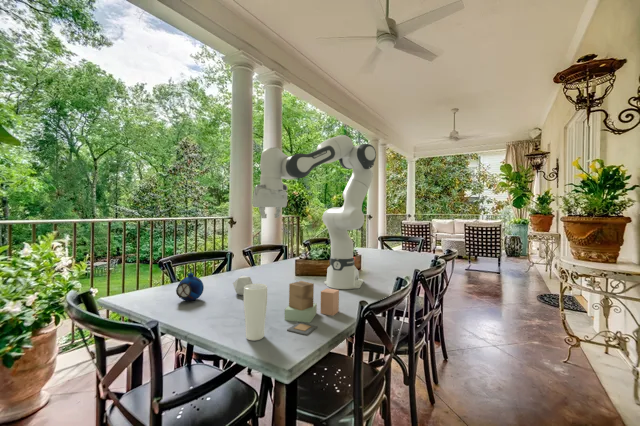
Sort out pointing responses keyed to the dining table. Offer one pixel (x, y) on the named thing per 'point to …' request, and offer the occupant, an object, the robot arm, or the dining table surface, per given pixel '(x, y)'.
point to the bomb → (190, 288)
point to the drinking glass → (255, 310)
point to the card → (302, 328)
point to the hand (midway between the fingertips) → (270, 218)
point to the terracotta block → (329, 301)
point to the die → (241, 284)
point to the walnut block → (301, 295)
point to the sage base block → (301, 314)
